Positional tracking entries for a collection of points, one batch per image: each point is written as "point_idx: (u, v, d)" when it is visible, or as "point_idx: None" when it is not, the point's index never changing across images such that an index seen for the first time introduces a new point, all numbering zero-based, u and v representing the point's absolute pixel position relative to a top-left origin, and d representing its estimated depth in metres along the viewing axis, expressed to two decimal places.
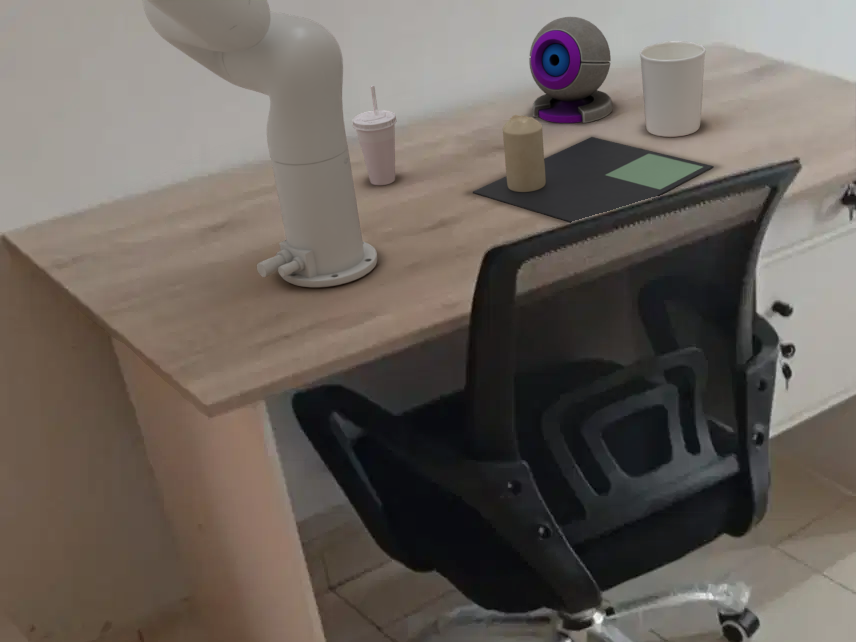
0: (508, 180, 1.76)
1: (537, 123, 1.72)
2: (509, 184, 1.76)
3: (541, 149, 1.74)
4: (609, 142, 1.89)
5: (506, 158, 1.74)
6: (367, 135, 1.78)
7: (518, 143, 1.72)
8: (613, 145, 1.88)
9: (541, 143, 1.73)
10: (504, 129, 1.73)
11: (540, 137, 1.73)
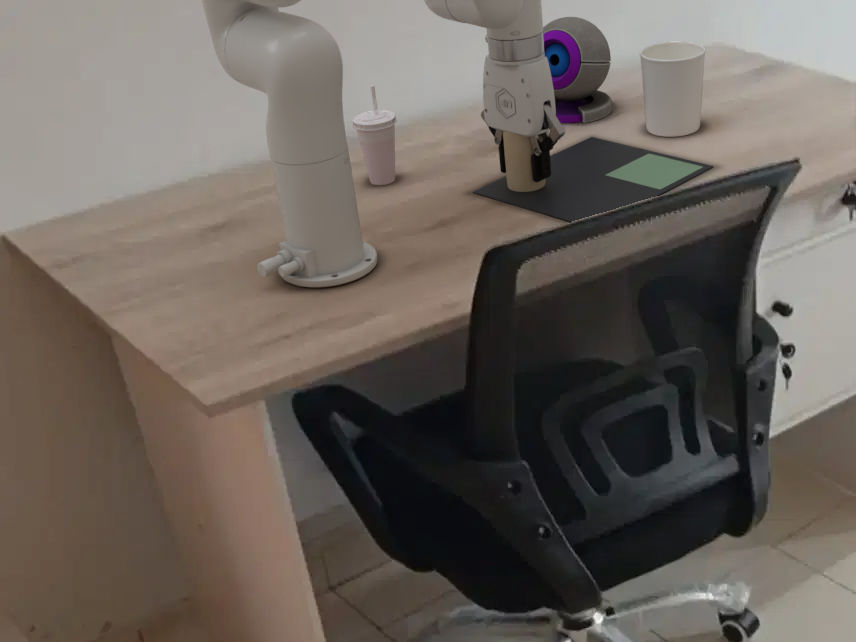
0: (508, 180, 1.76)
1: None
2: (509, 184, 1.76)
3: None
4: (609, 142, 1.89)
5: (506, 158, 1.74)
6: (367, 135, 1.78)
7: (518, 143, 1.72)
8: (613, 145, 1.88)
9: None
10: None
11: (540, 137, 1.73)
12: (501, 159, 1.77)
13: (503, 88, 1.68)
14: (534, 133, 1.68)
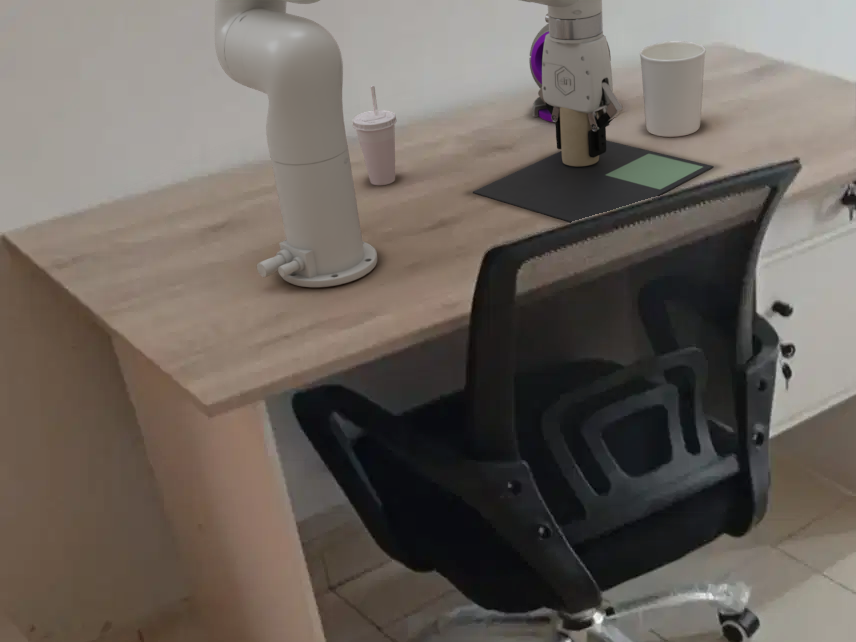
0: (563, 155, 1.82)
1: None
2: (564, 159, 1.82)
3: None
4: (609, 142, 1.89)
5: (562, 133, 1.81)
6: (367, 135, 1.78)
7: (575, 118, 1.78)
8: (613, 145, 1.88)
9: None
10: None
11: (596, 113, 1.79)
12: (558, 136, 1.83)
13: (563, 66, 1.75)
14: (592, 109, 1.75)
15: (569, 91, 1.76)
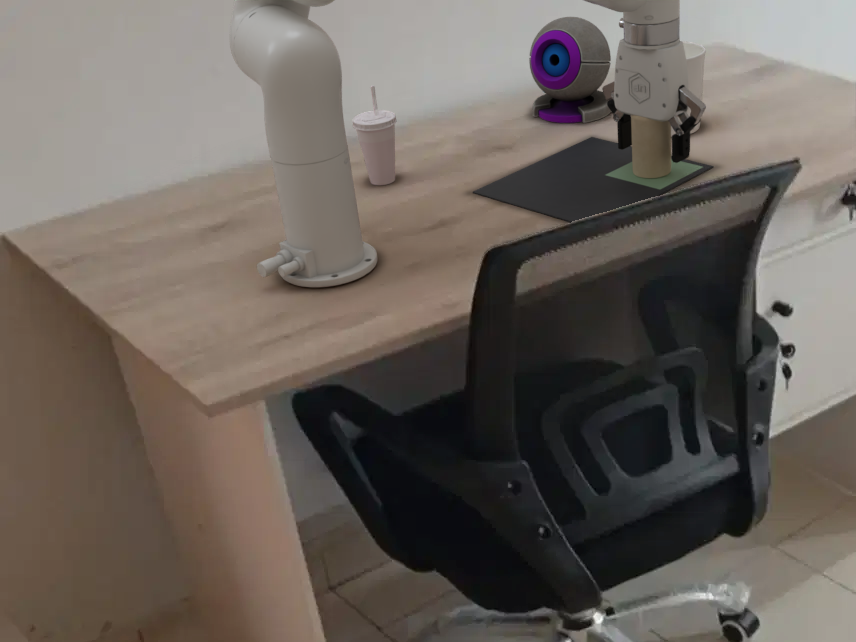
0: (635, 167, 1.76)
1: None
2: (636, 170, 1.77)
3: (669, 135, 1.74)
4: (609, 142, 1.89)
5: (634, 144, 1.75)
6: (367, 135, 1.78)
7: (648, 129, 1.72)
8: (613, 145, 1.88)
9: (670, 129, 1.74)
10: (633, 115, 1.73)
11: (669, 123, 1.73)
12: (619, 135, 1.78)
13: (638, 73, 1.69)
14: (668, 118, 1.69)
15: (644, 99, 1.70)
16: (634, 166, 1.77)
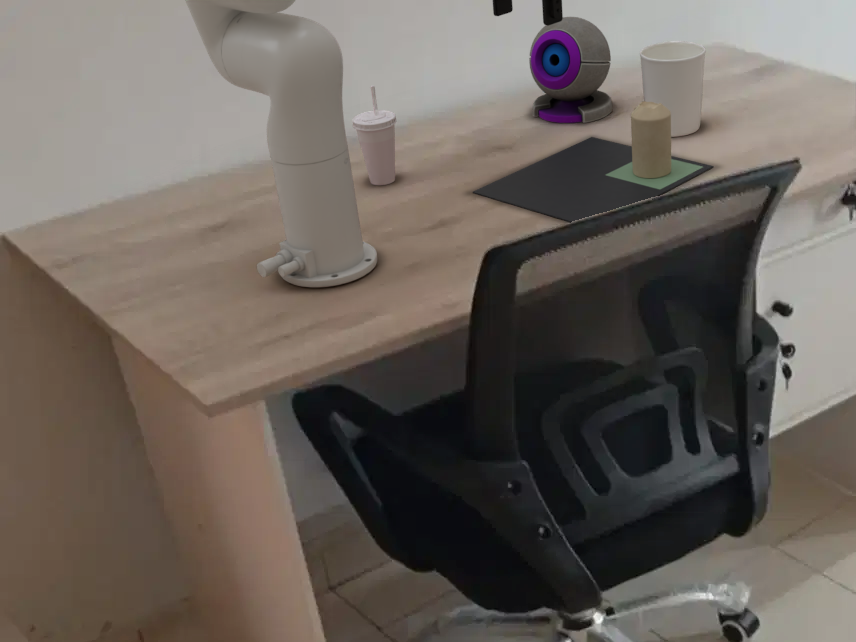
0: (635, 167, 1.76)
1: (666, 109, 1.73)
2: (636, 170, 1.77)
3: (669, 135, 1.74)
4: (609, 142, 1.89)
5: (634, 144, 1.75)
6: (367, 135, 1.78)
7: (648, 129, 1.72)
8: (613, 145, 1.88)
9: (670, 129, 1.74)
10: (633, 115, 1.73)
11: (669, 123, 1.73)
12: (494, 1, 1.73)
13: None
14: None
15: None
16: (634, 166, 1.77)
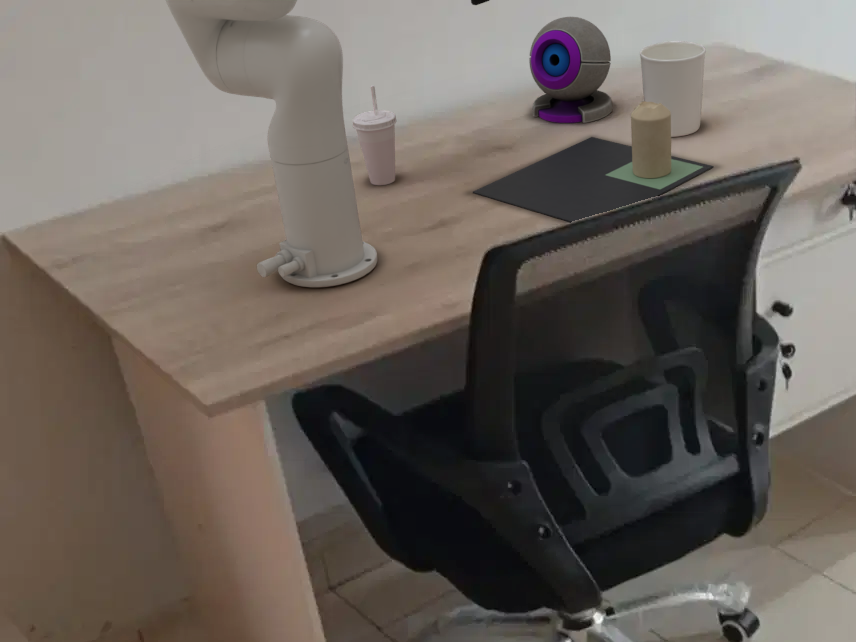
0: (635, 167, 1.76)
1: (666, 109, 1.73)
2: (636, 170, 1.77)
3: (669, 135, 1.74)
4: (609, 142, 1.89)
5: (634, 144, 1.75)
6: (367, 135, 1.78)
7: (648, 129, 1.72)
8: (613, 145, 1.88)
9: (670, 129, 1.74)
10: (633, 115, 1.73)
11: (669, 123, 1.73)
12: None
13: None
14: None
15: None
16: (634, 166, 1.77)
